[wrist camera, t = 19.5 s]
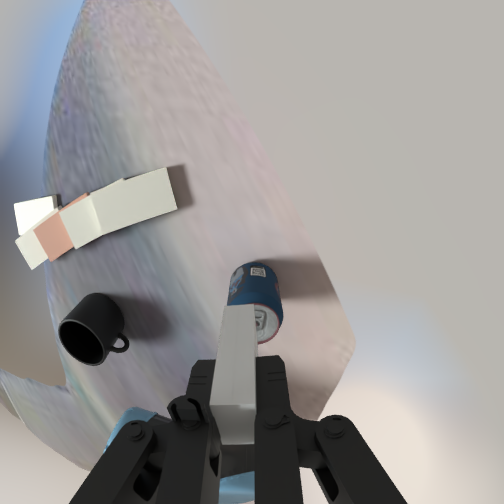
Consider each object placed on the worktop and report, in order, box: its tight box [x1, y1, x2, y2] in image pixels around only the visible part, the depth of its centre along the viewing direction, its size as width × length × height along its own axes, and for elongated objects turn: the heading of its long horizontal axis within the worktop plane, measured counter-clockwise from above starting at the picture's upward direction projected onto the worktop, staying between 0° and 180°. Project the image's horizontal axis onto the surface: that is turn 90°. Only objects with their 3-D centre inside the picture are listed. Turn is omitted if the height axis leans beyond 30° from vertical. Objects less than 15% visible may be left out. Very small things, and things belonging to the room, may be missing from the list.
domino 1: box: [14, 195, 58, 235], centre depth 39 cm, size 2×6×11 cm
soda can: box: [227, 262, 283, 344], centre depth 37 cm, size 7×7×12 cm
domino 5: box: [90, 167, 177, 235], centre depth 36 cm, size 2×6×11 cm
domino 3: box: [33, 192, 90, 262], centre depth 37 cm, size 2×6×11 cm
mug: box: [58, 294, 129, 366], centre depth 41 cm, size 9×12×9 cm
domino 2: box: [15, 206, 62, 270], centre depth 37 cm, size 2×6×11 cm
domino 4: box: [59, 178, 125, 249], centre depth 36 cm, size 2×6×11 cm
